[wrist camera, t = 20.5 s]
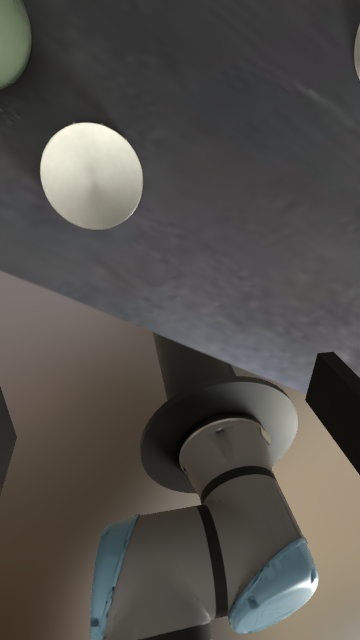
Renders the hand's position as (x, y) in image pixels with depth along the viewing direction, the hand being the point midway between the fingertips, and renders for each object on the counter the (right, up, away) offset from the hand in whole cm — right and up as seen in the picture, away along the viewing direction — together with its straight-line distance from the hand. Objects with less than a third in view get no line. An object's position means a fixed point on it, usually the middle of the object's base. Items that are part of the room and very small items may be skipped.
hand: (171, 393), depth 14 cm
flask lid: (-7, +15, +15) cm, 22 cm away
